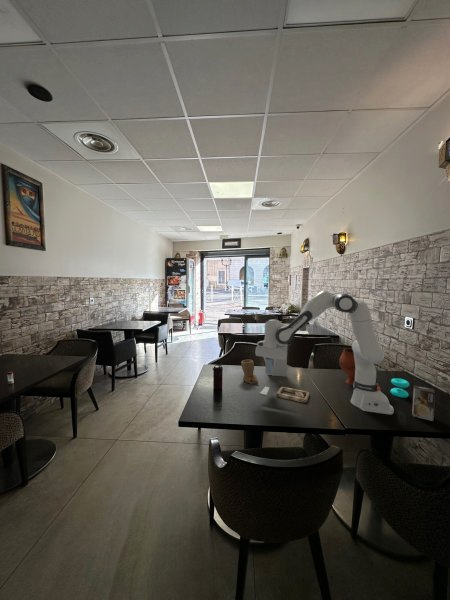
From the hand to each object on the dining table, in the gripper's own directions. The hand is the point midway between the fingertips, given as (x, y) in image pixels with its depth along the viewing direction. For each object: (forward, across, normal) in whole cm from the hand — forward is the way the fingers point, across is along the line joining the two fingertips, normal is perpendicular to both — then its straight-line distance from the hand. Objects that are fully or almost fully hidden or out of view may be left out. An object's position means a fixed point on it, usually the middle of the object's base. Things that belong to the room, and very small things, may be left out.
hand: (270, 364), depth 167 cm
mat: (+19, 0, 0) cm, 19 cm away
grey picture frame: (+19, -85, -12) cm, 88 cm away
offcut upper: (+18, -20, +1) cm, 27 cm away
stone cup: (+19, +19, -12) cm, 30 cm away
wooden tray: (+19, -16, +1) cm, 25 cm away
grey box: (+19, +4, -34) cm, 39 cm away
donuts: (+19, -78, -39) cm, 89 cm away
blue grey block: (+5, 0, 0) cm, 5 cm away
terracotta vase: (+19, -50, -45) cm, 70 cm away
